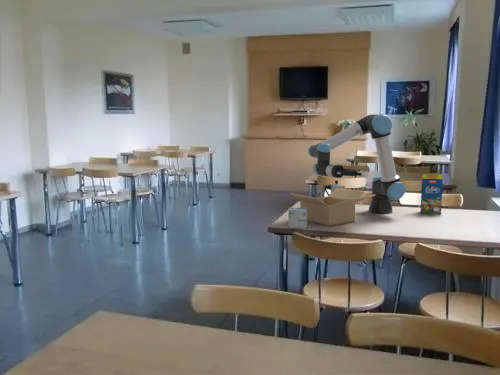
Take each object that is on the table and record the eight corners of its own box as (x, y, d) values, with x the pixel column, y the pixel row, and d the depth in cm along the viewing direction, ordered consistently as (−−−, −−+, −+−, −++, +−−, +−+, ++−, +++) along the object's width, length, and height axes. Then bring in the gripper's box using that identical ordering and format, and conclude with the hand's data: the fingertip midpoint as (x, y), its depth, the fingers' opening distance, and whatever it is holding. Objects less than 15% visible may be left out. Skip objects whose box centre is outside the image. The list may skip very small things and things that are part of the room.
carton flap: (350, 198, 265) (350, 199, 265) (375, 194, 278) (375, 195, 278) (330, 205, 278) (330, 206, 278) (355, 201, 290) (355, 202, 290)
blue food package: (441, 214, 313) (443, 175, 309) (421, 213, 316) (423, 174, 312) (439, 212, 319) (441, 174, 315) (420, 211, 322) (422, 173, 318)
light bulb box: (306, 225, 282) (307, 207, 281) (307, 228, 275) (307, 209, 274) (288, 225, 283) (288, 207, 282) (288, 228, 277) (288, 209, 275)
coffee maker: (344, 205, 346) (345, 179, 344) (345, 207, 338) (346, 181, 335) (323, 204, 348) (323, 179, 345) (324, 207, 339) (324, 181, 336)
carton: (288, 221, 294) (288, 192, 292) (334, 213, 317) (335, 186, 315) (317, 228, 274) (318, 198, 272) (364, 219, 298) (365, 191, 295)
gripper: (343, 176, 291) (374, 180, 272) (327, 178, 283) (359, 182, 264) (343, 163, 290) (375, 166, 271) (327, 165, 282) (359, 168, 263)
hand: (367, 174), depth 268 cm, fingers closed
